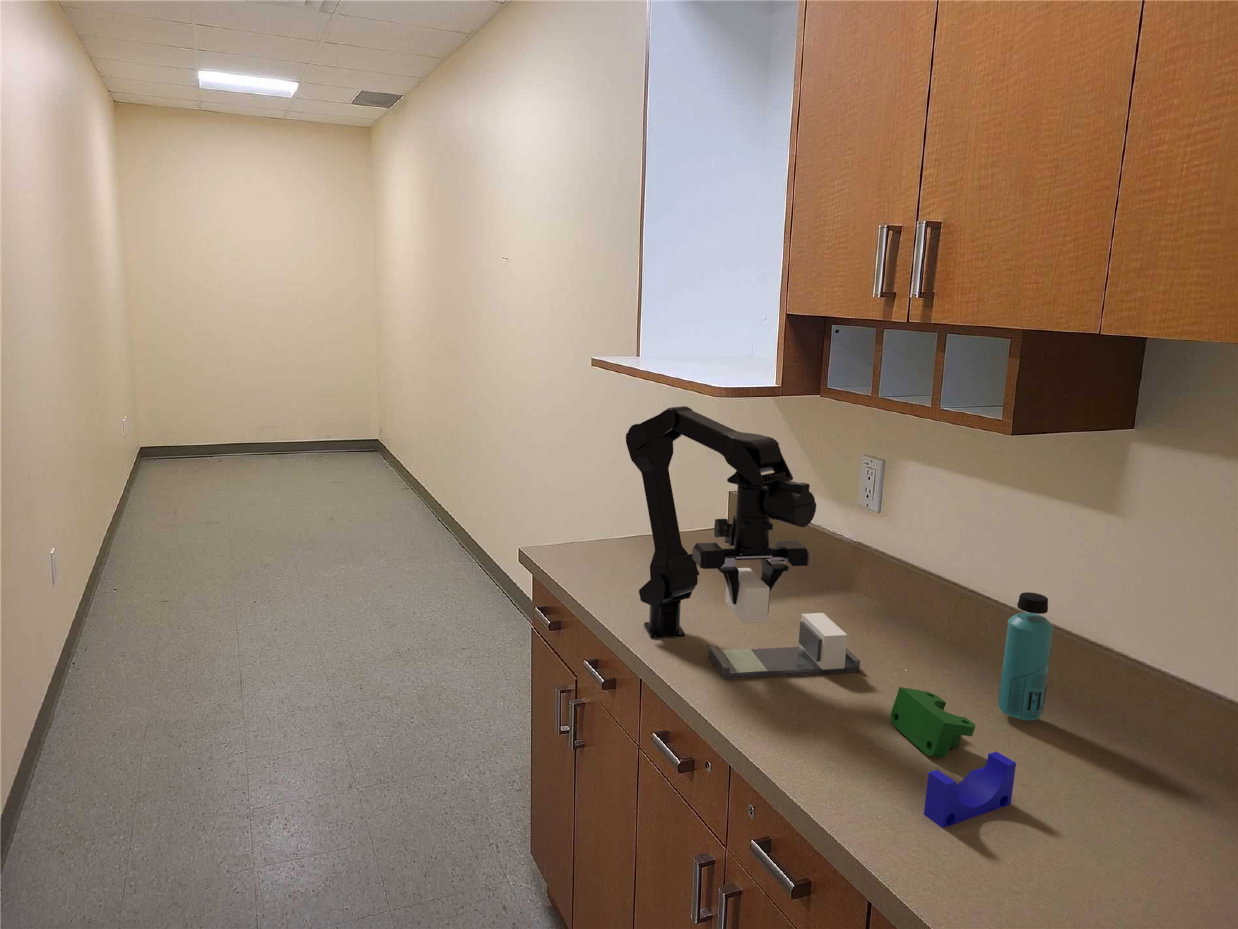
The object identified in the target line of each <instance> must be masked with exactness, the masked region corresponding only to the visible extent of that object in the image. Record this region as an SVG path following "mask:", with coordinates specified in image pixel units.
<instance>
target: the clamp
mask: <svg viewBox="0 0 1238 929" xmlns="http://www.w3.org/2000/svg"><path fill="white" fill-rule="evenodd" d="M896 694H897V695H896V697H895V700H894V702H893V705H892V708H891V712H890V715H889V716H890V717H889V718H890V722H891V725H893V727H894V728H896V730H898V731H899V733H901V734H903V736H904V737H906V738H907V740H909V741H910V742H911V743H912V744H914V745H915V746H916V747H917V748H918V749H919V750H920V751H921V752H922V753H924V755H926V756H928V757H935V758H945V757H946V755H947V754H948V752H949V748H953V749H956V748H958V747H959V745H960V742H961V738H962V736H965V737H973V734H974V732H975V730H976V724H975V723H974V722H972V721H971V720H969V718H967V717H965V716H959V715H955V714H953V713H950V712H947V711H946V710H945V707H946V704H947V702H946V701H945V700H944V699H942V698H941V697H939V696H938V695H937V694H935V693H933V692H930V691H926V690H923V689H922V690H920V689H915V688H908V687H904V686H903V687H901V686H899V687H898V691H897V693H896Z"/></svg>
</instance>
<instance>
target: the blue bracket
mask: <svg viewBox="0 0 1238 929" xmlns="http://www.w3.org/2000/svg"><path fill="white" fill-rule="evenodd" d="M1016 765H1017V762H1015V761H1014V760H1012V759H1011V758H1009V757H1007V756H1005V755H1003V753H1000V752H998V751H994V752H991V753H988V754H987V759H986V762H985V765H984V766H982V767H980V768H977V769H973V770H970V771H969V772H968V774H967V775H966V776H965V777H964V778H962V780H961V781H959V783H957V781H955V779H953V778H951V777H950V776H948V775H946V774H945V773H943V772H942V771H941V770H939V769H935V770H932V771H929V772H928V773H927V782H926V791H925V793H926V794H925V801H924V810H923V815H924V816H925V817H926V818H928V819H929V820H930V821H932V822H934V823H935V825H937V826H938V827H940V828H941V829H944V828H946V827H950V826H952V825H956V824H958V823H961V822H963V821H967V820H970V819H973V818H976V817H978V816H981V815H984V814H987V813H989V812H992V811H996V810H998V809H1002V808H1004V807H1008V806H1010V805H1012V797H1013V790H1014V782H1015V775H1016V769H1017V768H1016Z"/></svg>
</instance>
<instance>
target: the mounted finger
mask: <svg viewBox="0 0 1238 929" xmlns="http://www.w3.org/2000/svg"><path fill="white" fill-rule="evenodd" d="M798 634H799V636H798V645H799V646H798V647H801V648H802V649H803V650H804V651H805V652H806V653H807V654H808V655H809V656H810V657H811V658H812V659H813V660H814V662H815V663H816V664H817V665H818V666H819V667H820V668H821V669H822V670H824V669H841V668H844V667H845V656H846V648H847V642H848V634H847V633H846V632H845V631H844V630H843V629H841V627H839V626H838V625H837V624H836V623H835V622H834V621H832V619H831V618H829V617H828V615H826V614H825V613H824V612H814V613H813V612H812V613H801V619H800V623H799V633H798Z"/></svg>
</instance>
